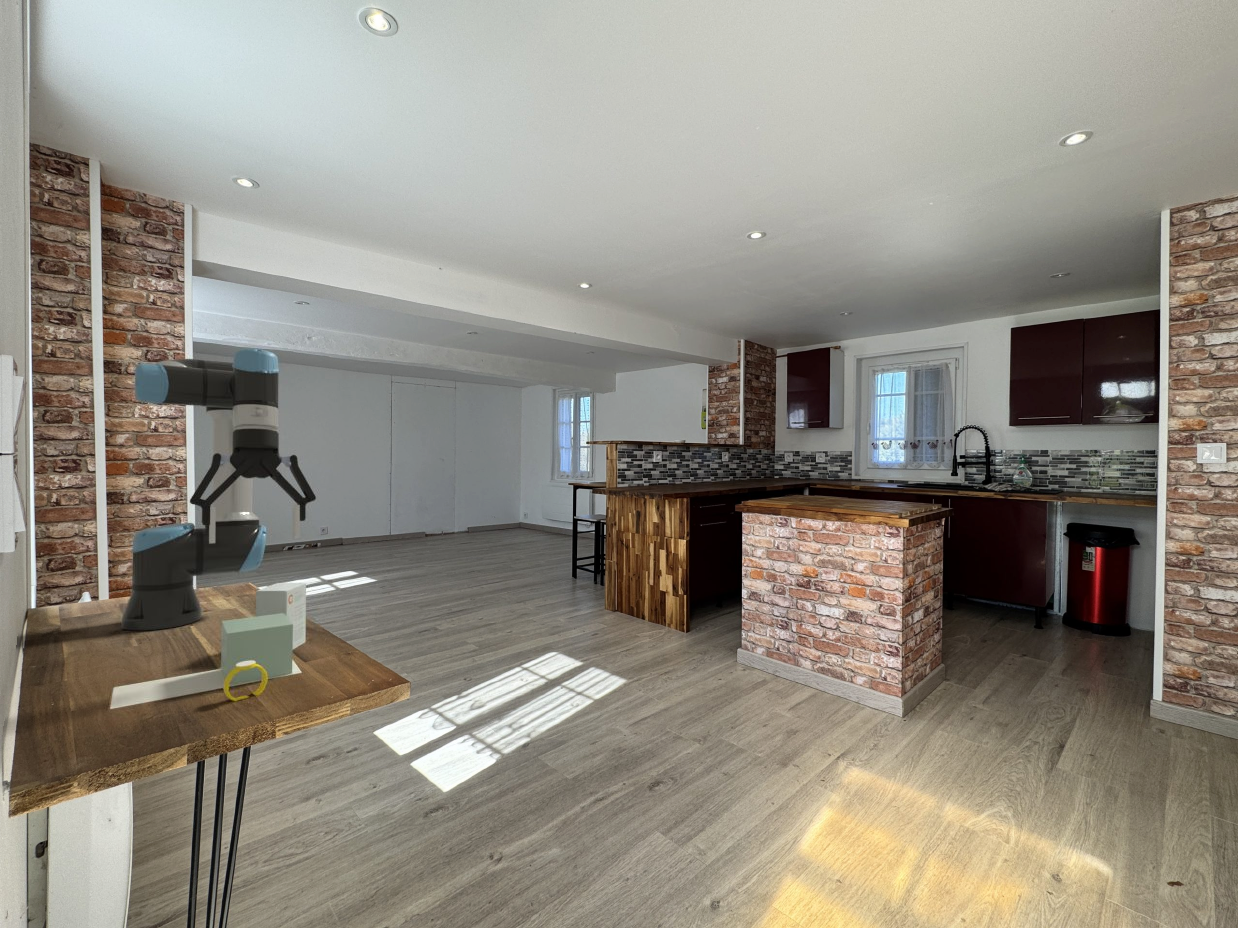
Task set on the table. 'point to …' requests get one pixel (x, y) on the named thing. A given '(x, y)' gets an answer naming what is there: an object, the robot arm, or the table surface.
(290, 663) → the block
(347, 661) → the table surface
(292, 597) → the small box
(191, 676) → the base
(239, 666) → the watch
